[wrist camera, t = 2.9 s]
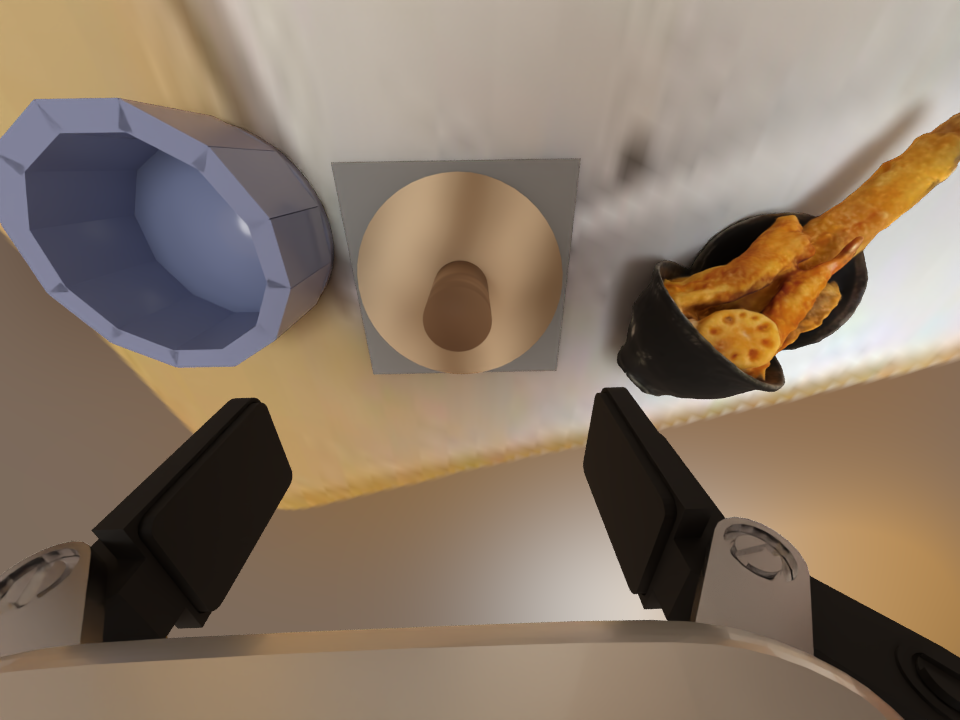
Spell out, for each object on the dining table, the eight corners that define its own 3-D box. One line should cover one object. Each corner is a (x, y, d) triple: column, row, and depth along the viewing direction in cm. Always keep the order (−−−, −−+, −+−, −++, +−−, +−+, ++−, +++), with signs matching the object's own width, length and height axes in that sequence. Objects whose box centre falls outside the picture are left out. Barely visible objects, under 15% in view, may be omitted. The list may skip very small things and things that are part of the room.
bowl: (306, 117, 17) (233, 96, 12) (350, 319, 23) (313, 364, 17) (87, 120, 17) (-83, 101, 12) (184, 322, 23) (98, 369, 17)
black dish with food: (567, 362, 19) (1127, -123, 7) (606, 294, 27) (897, 13, 15) (692, 472, 19) (1511, 163, 7) (694, 370, 27) (1066, 145, 15)
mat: (577, 158, 18) (580, 158, 18) (554, 366, 25) (556, 370, 24) (335, 162, 18) (331, 162, 18) (375, 369, 25) (373, 374, 24)
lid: (569, 169, 18) (609, 171, 13) (549, 364, 24) (571, 419, 19) (342, 173, 18) (289, 176, 13) (379, 368, 24) (353, 424, 19)
